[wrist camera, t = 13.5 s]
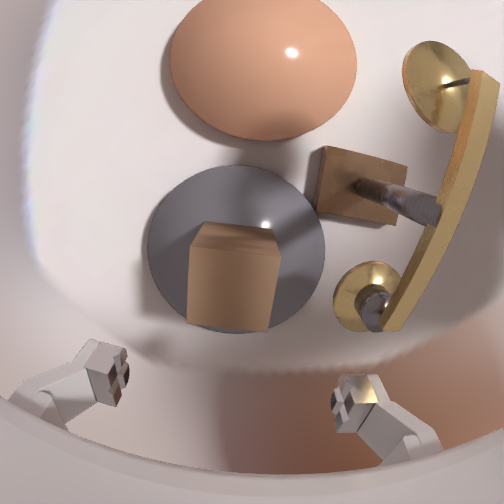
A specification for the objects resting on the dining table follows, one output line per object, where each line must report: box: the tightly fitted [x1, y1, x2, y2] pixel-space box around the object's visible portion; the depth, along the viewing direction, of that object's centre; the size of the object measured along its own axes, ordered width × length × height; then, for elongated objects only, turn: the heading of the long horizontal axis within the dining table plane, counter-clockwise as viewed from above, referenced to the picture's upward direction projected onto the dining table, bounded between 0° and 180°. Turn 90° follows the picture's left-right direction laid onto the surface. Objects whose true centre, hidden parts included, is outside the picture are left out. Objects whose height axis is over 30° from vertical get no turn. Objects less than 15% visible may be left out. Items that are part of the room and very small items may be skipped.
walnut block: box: [187, 221, 281, 332], centre depth 19 cm, size 5×5×6 cm
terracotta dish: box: [170, 0, 357, 141], centre depth 18 cm, size 14×14×1 cm
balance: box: [313, 41, 500, 332], centre depth 15 cm, size 7×18×14 cm, turn 172°
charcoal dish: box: [147, 165, 325, 334], centre depth 23 cm, size 14×14×1 cm
